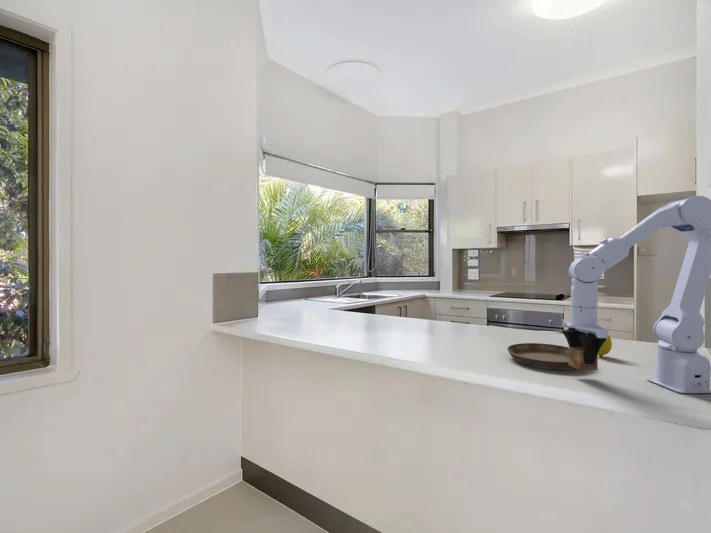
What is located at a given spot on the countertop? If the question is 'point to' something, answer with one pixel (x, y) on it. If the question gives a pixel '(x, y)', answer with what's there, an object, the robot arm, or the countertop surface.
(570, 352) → the walnut block
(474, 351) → the countertop surface
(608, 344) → the lemon
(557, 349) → the plant saucer
